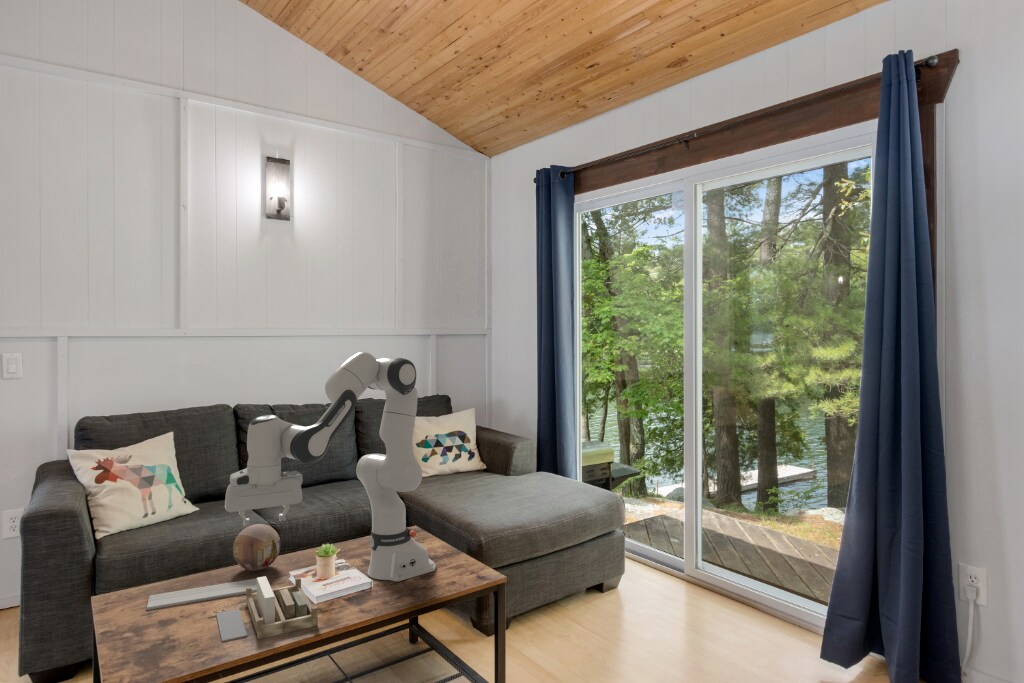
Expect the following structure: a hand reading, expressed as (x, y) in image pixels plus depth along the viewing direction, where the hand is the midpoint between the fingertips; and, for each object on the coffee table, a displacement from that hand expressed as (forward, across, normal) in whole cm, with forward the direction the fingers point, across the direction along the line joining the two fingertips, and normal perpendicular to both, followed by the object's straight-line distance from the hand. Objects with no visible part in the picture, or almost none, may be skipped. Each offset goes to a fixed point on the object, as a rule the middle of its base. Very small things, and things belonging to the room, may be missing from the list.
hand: (264, 523), depth 178 cm
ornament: (+27, -3, -38) cm, 47 cm away
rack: (+27, -4, 0) cm, 27 cm away
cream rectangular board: (+27, 0, 0) cm, 27 cm away
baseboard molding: (+28, +13, -27) cm, 41 cm away
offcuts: (+27, -8, -1) cm, 28 cm away
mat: (+27, +9, 0) cm, 28 cm away
